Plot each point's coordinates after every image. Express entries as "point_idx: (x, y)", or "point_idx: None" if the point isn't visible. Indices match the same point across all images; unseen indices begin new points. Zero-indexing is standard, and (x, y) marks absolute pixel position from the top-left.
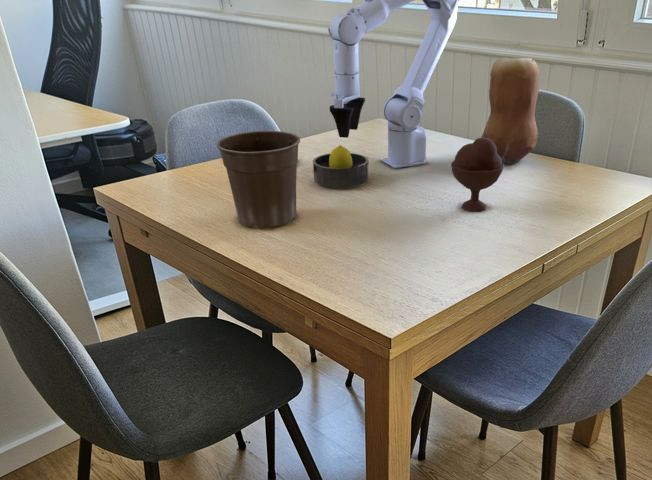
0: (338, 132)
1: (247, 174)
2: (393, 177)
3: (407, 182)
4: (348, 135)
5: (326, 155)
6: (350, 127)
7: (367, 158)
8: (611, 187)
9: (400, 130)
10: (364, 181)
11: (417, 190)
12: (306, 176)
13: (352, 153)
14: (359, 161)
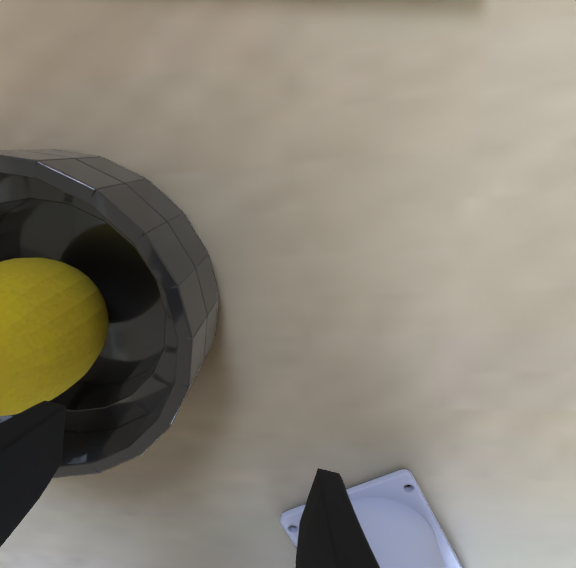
0: (10, 419)
1: None
2: (167, 497)
3: (111, 536)
4: (49, 475)
5: (131, 238)
6: (312, 494)
7: (81, 474)
8: None
9: None
10: None
11: (28, 557)
12: (141, 93)
13: (174, 400)
14: (154, 413)
